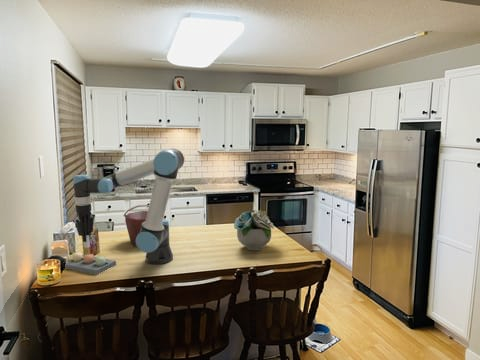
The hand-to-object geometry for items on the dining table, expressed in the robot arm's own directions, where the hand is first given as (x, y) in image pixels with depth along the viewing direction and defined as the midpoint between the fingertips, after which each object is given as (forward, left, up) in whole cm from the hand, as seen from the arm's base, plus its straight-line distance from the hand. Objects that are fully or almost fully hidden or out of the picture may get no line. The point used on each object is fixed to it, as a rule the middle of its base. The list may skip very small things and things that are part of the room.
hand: (87, 247), depth 189 cm
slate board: (-1, 0, -11) cm, 11 cm away
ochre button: (+7, 0, -9) cm, 11 cm away
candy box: (+11, -14, -11) cm, 21 cm away
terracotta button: (-1, 0, -9) cm, 9 cm away
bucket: (-5, -43, -11) cm, 44 cm away
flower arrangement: (-74, -60, -11) cm, 96 cm away
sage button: (-9, 0, -9) cm, 12 cm away
